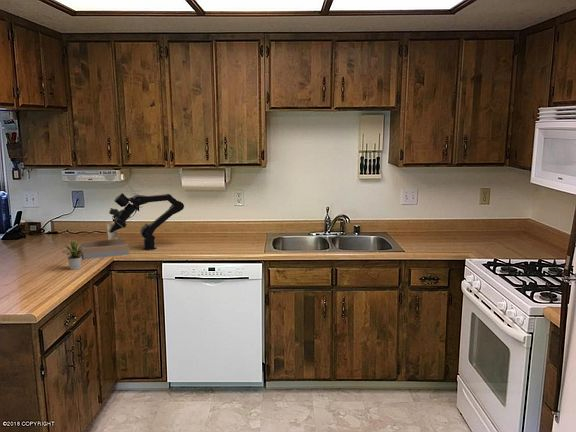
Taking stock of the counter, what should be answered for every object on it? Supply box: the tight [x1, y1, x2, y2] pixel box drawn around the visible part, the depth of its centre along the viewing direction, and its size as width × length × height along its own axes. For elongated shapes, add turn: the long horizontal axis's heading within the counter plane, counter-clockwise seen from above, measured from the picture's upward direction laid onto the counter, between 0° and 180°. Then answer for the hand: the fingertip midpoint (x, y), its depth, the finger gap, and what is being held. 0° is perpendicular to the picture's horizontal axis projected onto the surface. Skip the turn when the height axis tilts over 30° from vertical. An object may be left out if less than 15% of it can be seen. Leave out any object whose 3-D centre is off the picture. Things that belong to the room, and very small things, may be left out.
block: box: [106, 220, 118, 240], centre depth 296 cm, size 5×5×10 cm
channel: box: [80, 238, 130, 260], centre depth 295 cm, size 25×18×6 cm
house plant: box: [59, 238, 85, 271], centre depth 263 cm, size 14×14×16 cm
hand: (109, 231), depth 295 cm, fingers closed on block, 5 cm apart
